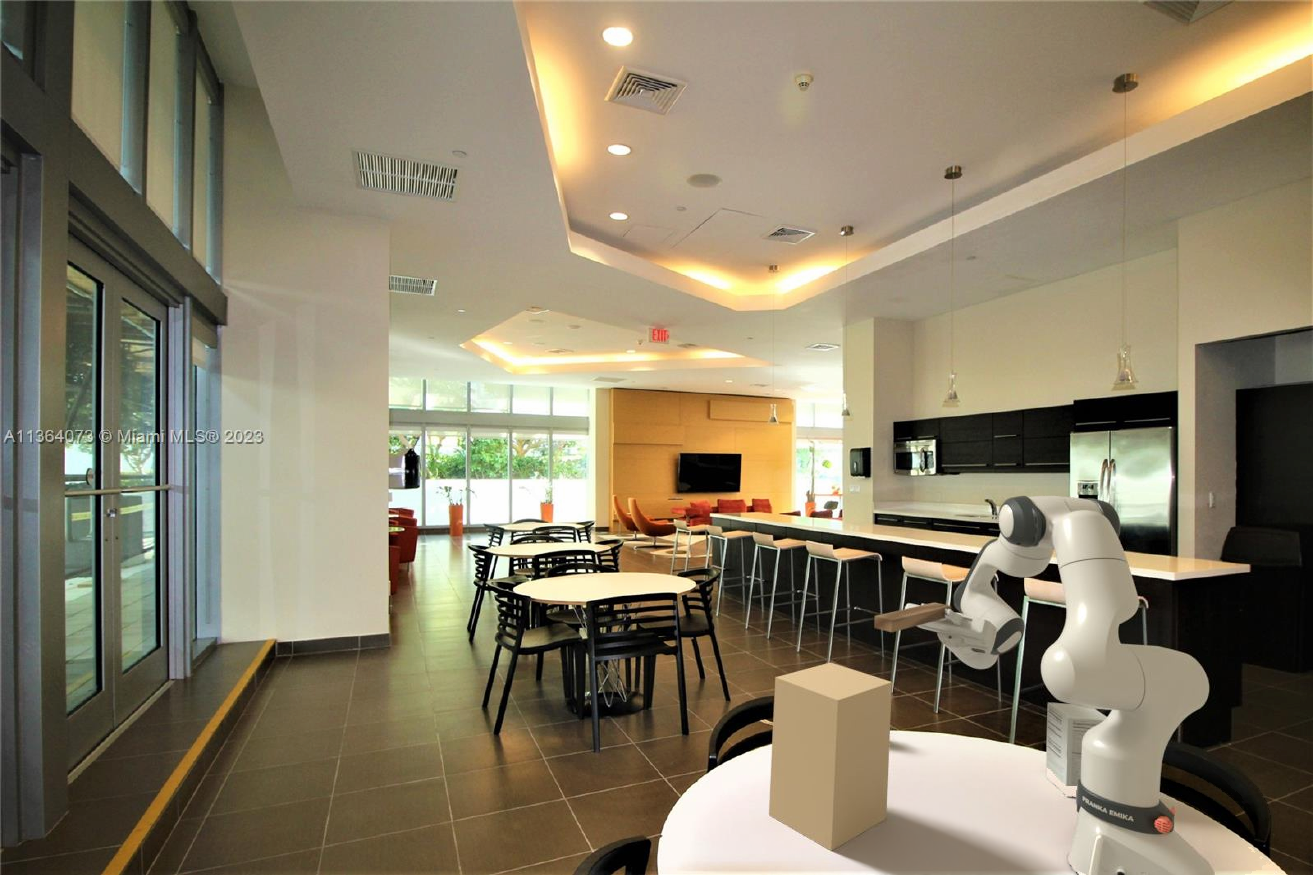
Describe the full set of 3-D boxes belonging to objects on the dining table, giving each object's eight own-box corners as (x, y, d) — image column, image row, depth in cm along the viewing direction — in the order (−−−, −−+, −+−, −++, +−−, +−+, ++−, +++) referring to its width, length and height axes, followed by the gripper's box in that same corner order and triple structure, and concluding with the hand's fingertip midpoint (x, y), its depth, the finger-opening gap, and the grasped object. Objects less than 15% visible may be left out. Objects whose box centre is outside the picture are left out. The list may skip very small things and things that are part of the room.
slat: (950, 616, 153) (951, 606, 153) (891, 632, 136) (892, 620, 136) (934, 613, 156) (934, 602, 156) (874, 627, 139) (874, 616, 139)
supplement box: (1088, 780, 147) (1091, 704, 147) (1113, 802, 138) (1115, 720, 138) (1043, 776, 148) (1046, 700, 148) (1065, 797, 139) (1067, 716, 139)
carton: (886, 818, 126) (892, 682, 127) (831, 851, 114) (837, 700, 115) (825, 788, 137) (831, 662, 138) (768, 814, 125) (775, 677, 126)
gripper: (920, 611, 169) (897, 588, 161) (1004, 629, 153) (982, 605, 145) (913, 634, 166) (889, 612, 159) (997, 655, 151) (975, 632, 143)
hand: (934, 609), depth 152 cm, fingers closed on slat, 4 cm apart
